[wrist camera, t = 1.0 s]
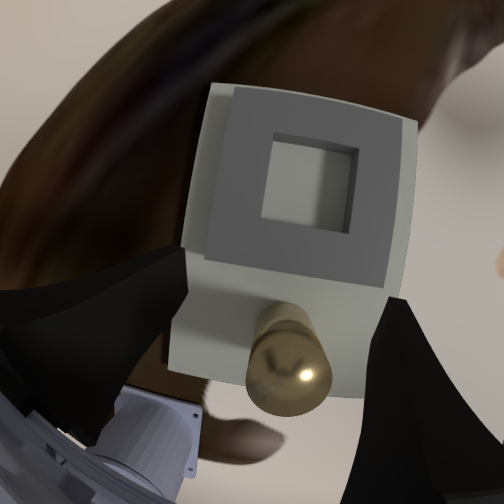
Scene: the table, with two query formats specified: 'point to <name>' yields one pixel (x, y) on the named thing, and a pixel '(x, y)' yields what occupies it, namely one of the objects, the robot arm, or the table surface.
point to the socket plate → (256, 289)
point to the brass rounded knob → (287, 362)
